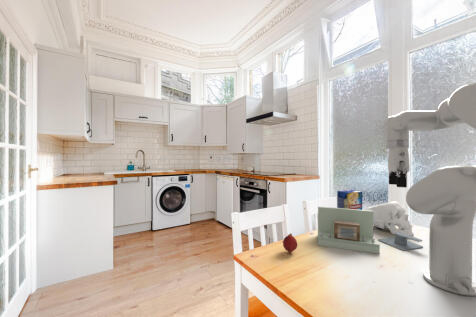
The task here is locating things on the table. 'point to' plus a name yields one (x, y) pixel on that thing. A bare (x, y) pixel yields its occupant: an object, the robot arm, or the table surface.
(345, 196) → the beverage box
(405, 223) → the skull planter
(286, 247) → the onion
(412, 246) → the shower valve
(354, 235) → the frame
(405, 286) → the table surface
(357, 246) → the ledge
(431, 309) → the table surface
